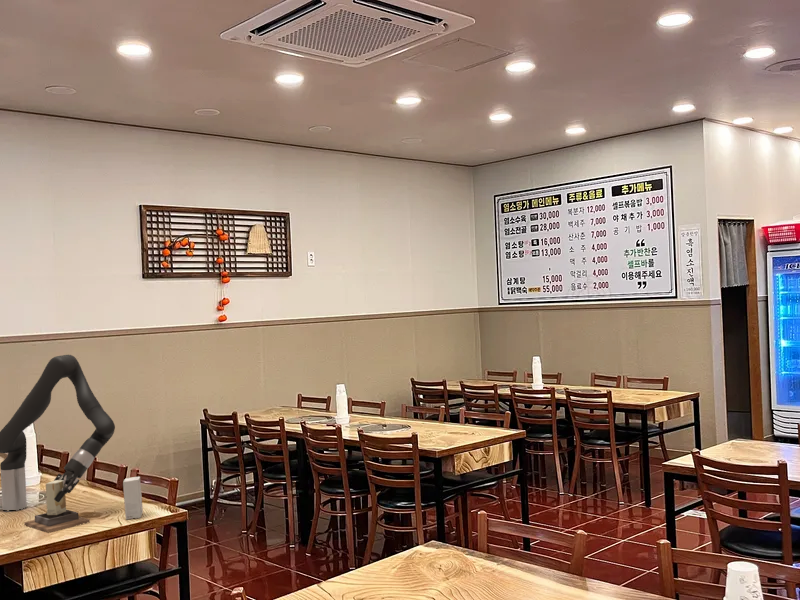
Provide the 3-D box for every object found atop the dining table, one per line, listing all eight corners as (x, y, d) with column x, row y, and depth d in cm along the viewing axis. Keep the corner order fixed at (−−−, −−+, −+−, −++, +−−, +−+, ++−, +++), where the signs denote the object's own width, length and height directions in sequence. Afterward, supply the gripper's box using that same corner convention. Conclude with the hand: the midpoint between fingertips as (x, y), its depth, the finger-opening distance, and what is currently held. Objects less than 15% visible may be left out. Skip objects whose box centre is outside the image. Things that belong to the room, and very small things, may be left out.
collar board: (24, 525, 304) (23, 515, 304) (64, 515, 317) (64, 506, 317) (48, 532, 291) (47, 522, 291) (89, 522, 303) (89, 512, 303)
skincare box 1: (56, 515, 301) (54, 483, 301) (46, 515, 301) (44, 483, 301) (67, 511, 307) (65, 479, 307) (57, 511, 308) (55, 479, 308)
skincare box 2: (141, 518, 305) (139, 479, 306) (124, 520, 304) (122, 481, 304) (143, 513, 314) (141, 475, 314) (127, 514, 312) (125, 477, 312)
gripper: (63, 456, 315) (36, 492, 306) (81, 459, 305) (53, 496, 296) (77, 467, 319) (50, 503, 310) (95, 470, 309) (67, 507, 300)
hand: (51, 499), depth 303 cm, fingers closed on skincare box 1, 6 cm apart
